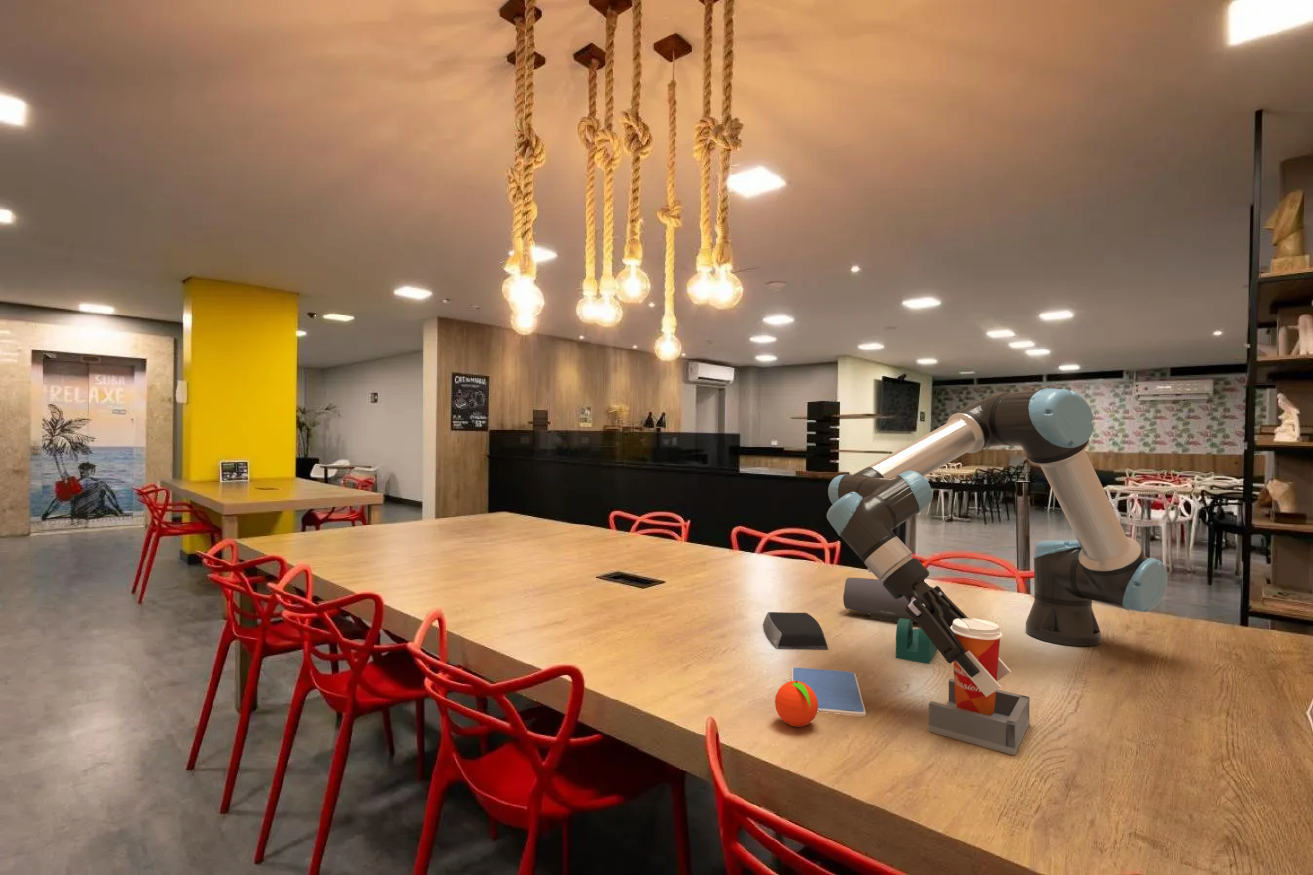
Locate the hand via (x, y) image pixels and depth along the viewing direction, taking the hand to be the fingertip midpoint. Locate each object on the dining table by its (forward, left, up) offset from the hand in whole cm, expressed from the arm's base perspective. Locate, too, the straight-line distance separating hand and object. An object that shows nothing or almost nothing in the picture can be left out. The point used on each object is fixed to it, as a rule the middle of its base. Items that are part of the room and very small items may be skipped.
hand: (998, 683), depth 102 cm
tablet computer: (+25, -14, -9) cm, 30 cm away
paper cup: (+3, -2, -5) cm, 6 cm away
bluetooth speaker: (0, -64, -8) cm, 64 cm away
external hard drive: (+27, -47, -9) cm, 54 cm away
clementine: (+32, +1, -8) cm, 33 cm away
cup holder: (+3, -2, -8) cm, 9 cm away
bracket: (0, -40, -8) cm, 41 cm away
